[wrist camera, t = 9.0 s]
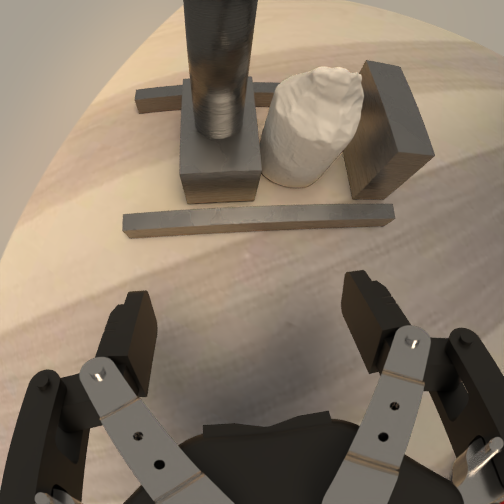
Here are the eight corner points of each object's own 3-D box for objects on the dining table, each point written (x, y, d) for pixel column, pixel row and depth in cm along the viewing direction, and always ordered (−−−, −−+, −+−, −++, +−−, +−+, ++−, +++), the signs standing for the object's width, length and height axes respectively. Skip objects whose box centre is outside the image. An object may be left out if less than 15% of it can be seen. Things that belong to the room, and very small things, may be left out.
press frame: (358, 102, 28) (390, 47, 20) (389, 226, 25) (444, 188, 17) (140, 103, 26) (121, 40, 18) (130, 238, 23) (90, 198, 15)
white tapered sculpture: (358, 24, 15) (412, 95, 14) (309, 123, 26) (338, 179, 26) (266, 31, 14) (318, 112, 13) (245, 141, 25) (272, 201, 25)
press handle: (246, 115, 26) (273, -67, 9) (254, 200, 24) (304, 5, 8) (188, 117, 25) (169, -66, 9) (187, 203, 24) (142, 8, 7)
